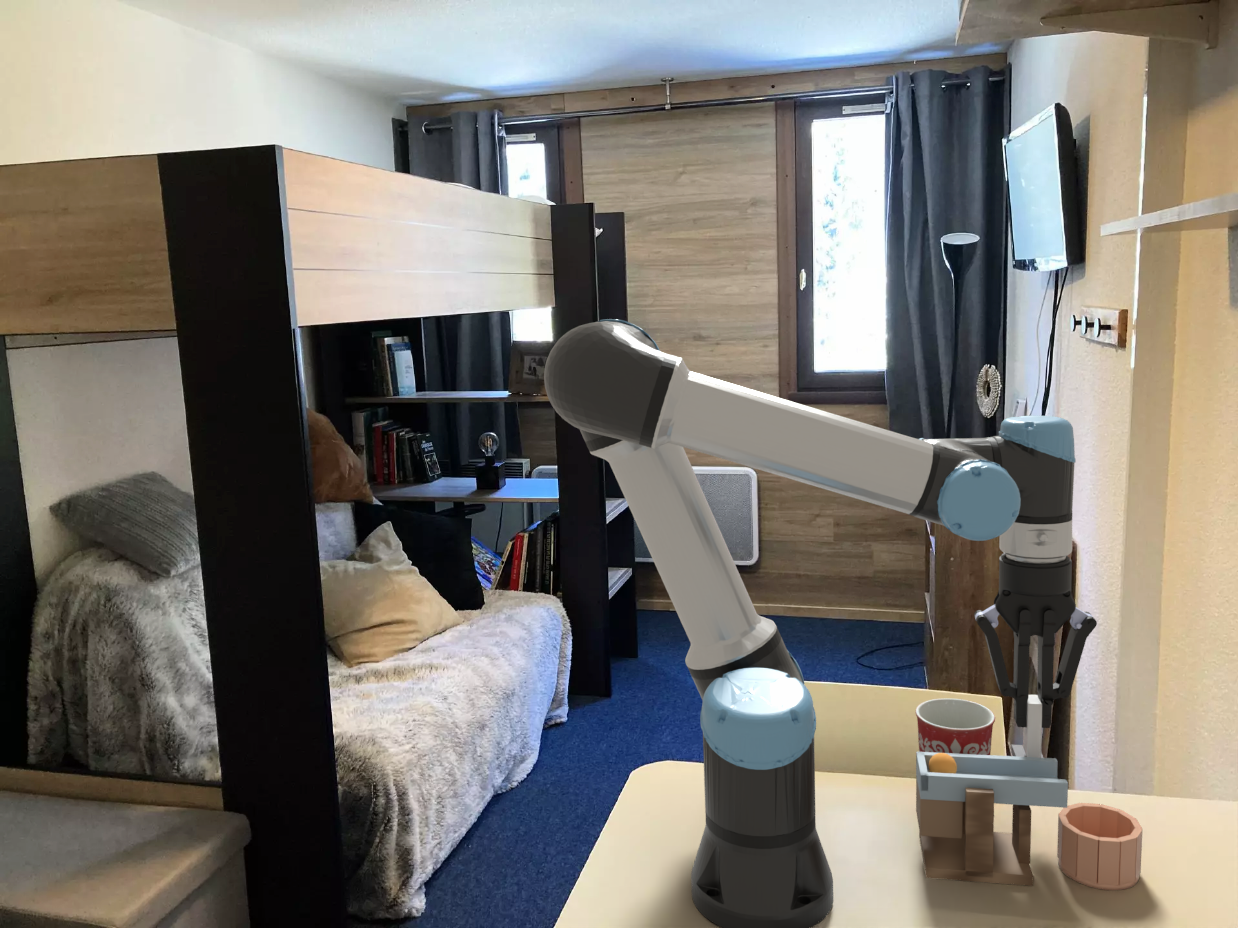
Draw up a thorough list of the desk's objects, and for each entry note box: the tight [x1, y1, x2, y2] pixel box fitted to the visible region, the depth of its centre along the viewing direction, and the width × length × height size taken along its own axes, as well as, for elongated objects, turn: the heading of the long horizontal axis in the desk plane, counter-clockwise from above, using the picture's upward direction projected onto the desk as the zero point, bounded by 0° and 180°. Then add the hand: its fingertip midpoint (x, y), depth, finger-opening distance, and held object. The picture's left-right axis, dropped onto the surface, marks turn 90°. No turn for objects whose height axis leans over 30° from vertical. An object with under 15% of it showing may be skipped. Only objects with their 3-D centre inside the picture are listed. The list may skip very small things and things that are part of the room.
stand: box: [918, 788, 1034, 887], centre depth 111 cm, size 11×9×10 cm
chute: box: [915, 744, 1069, 838], centre depth 113 cm, size 15×13×7 cm
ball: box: [929, 753, 957, 774], centre depth 110 cm, size 3×3×3 cm
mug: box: [915, 698, 996, 755], centre depth 121 cm, size 13×9×14 cm
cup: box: [1056, 802, 1143, 891], centre depth 108 cm, size 8×8×6 cm
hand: (1031, 752), depth 115 cm, fingers closed
